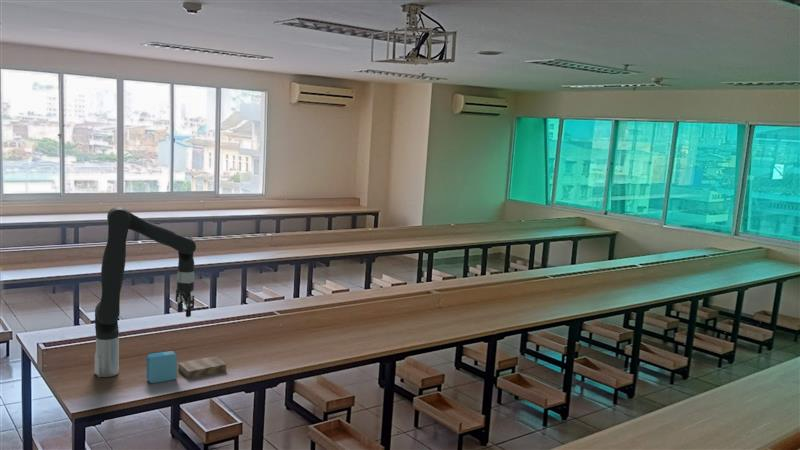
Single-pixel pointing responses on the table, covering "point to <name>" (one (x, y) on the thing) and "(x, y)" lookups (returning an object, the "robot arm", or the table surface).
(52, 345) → the table surface
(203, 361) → the mottled brown block
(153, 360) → the data package
